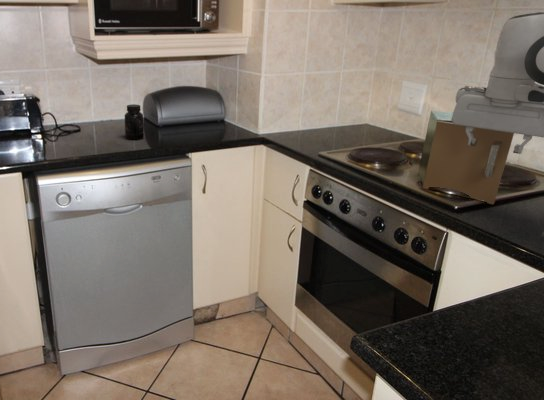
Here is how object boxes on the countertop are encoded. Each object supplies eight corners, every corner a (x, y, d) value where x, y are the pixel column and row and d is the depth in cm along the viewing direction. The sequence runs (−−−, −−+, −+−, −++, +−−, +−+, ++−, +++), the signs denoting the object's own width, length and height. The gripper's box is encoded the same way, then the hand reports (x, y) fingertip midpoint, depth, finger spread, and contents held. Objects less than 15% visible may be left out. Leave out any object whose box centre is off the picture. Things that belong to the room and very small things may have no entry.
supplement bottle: (139, 134, 181) (139, 103, 176) (146, 139, 175) (145, 106, 170) (122, 136, 178) (121, 104, 173) (128, 141, 172) (127, 108, 168)
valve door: (489, 210, 117) (510, 136, 110) (416, 193, 127) (431, 124, 120) (494, 203, 122) (514, 131, 114) (423, 187, 132) (438, 120, 125)
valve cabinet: (492, 195, 127) (511, 125, 120) (422, 187, 132) (437, 119, 125) (481, 180, 138) (499, 115, 131) (417, 173, 143) (431, 110, 135)
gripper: (454, 86, 112) (442, 143, 117) (561, 96, 99) (542, 160, 104) (462, 83, 116) (450, 138, 122) (566, 93, 103) (547, 154, 108)
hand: (493, 149), depth 113 cm, fingers open, 8 cm apart
